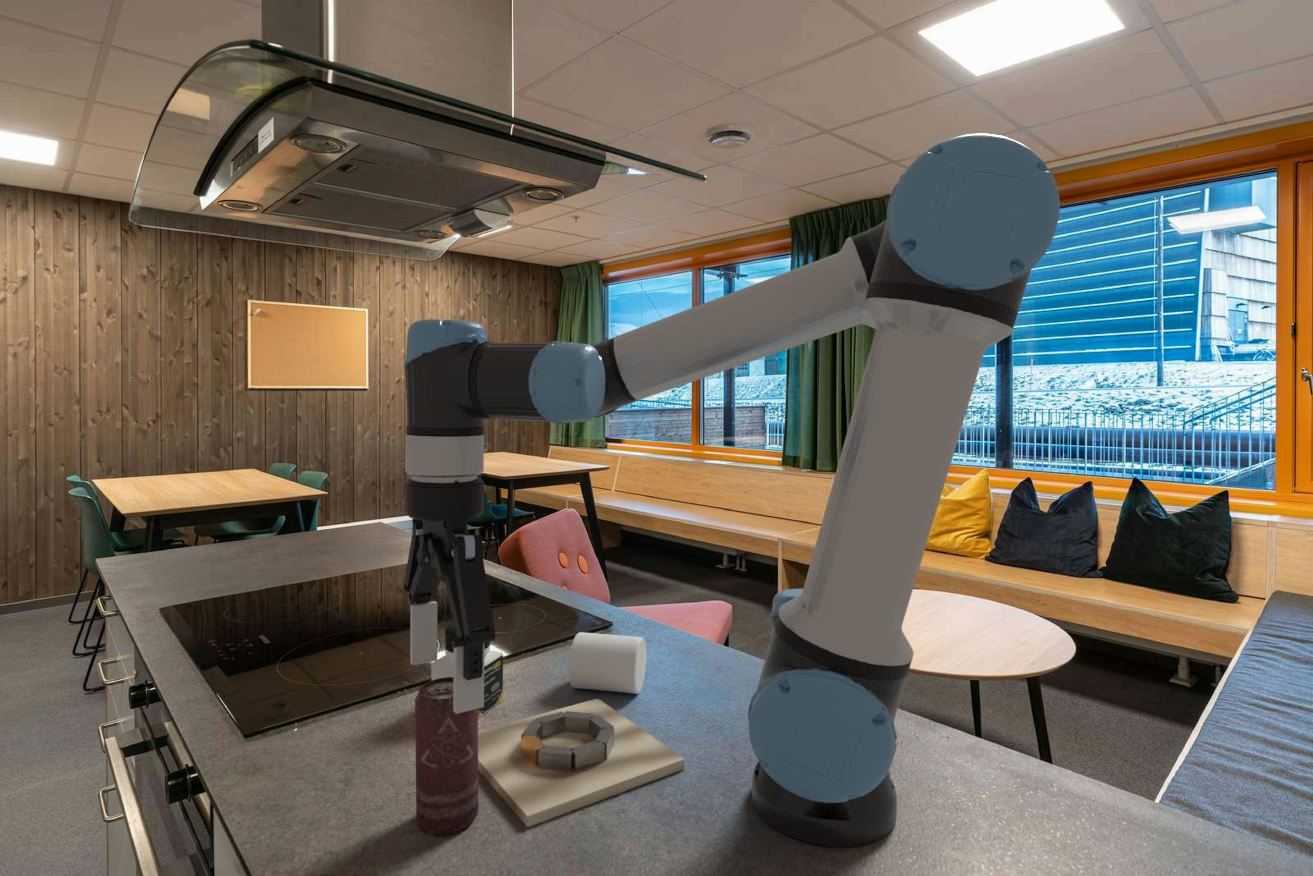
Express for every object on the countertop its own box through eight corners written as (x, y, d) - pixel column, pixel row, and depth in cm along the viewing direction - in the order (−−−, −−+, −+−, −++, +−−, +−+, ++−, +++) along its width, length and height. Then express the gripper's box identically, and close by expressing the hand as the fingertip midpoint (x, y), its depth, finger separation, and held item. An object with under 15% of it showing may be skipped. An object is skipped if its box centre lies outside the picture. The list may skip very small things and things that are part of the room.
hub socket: (628, 753, 85) (628, 737, 85) (548, 780, 79) (548, 763, 79) (584, 719, 93) (584, 705, 93) (509, 741, 87) (509, 726, 87)
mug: (634, 703, 102) (635, 648, 101) (567, 696, 104) (567, 642, 103) (652, 671, 113) (652, 621, 113) (591, 665, 115) (591, 617, 115)
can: (492, 811, 75) (491, 681, 74) (446, 844, 69) (445, 704, 68) (451, 794, 78) (450, 669, 77) (403, 824, 72) (402, 690, 72)
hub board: (684, 768, 84) (684, 759, 84) (527, 827, 72) (527, 816, 72) (597, 706, 100) (597, 698, 100) (458, 746, 89) (458, 736, 88)
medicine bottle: (475, 722, 95) (475, 633, 94) (430, 714, 97) (429, 627, 97) (504, 700, 102) (503, 617, 101) (461, 693, 104) (460, 612, 103)
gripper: (534, 490, 63) (531, 722, 65) (441, 463, 84) (440, 640, 85) (451, 496, 59) (450, 744, 61) (374, 465, 79) (375, 652, 81)
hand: (444, 684), depth 73 cm, fingers open, 13 cm apart
